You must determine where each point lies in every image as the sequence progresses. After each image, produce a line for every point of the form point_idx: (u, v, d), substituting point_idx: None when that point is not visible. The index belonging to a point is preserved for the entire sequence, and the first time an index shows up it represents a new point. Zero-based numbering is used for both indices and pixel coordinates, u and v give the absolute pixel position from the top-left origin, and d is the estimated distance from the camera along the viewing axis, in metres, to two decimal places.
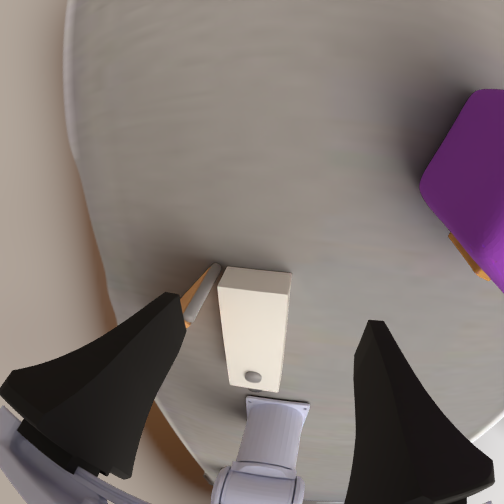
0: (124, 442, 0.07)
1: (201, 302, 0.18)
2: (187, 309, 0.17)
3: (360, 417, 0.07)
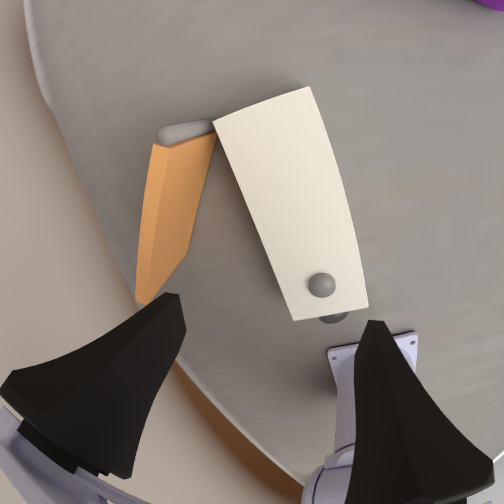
0: (124, 442, 0.07)
1: (186, 126, 0.11)
2: None
3: (360, 417, 0.07)
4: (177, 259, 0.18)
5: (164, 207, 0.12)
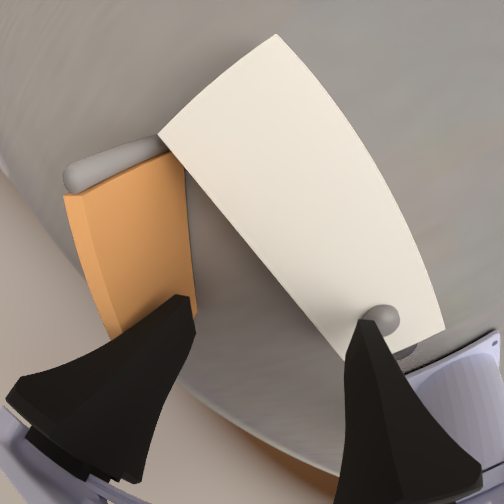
0: (135, 447, 0.06)
1: (110, 152, 0.07)
2: None
3: (349, 417, 0.08)
4: None
5: (118, 279, 0.08)
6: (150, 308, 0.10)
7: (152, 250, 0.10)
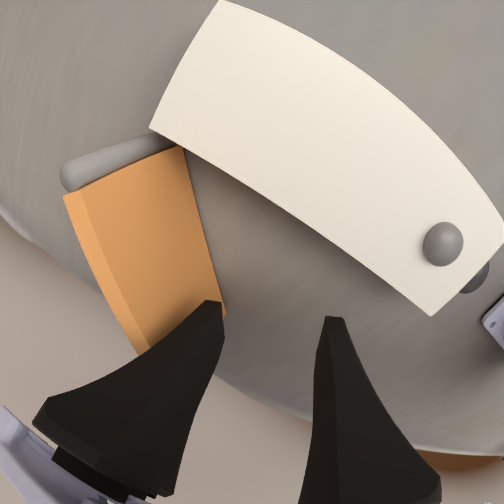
0: (170, 461, 0.06)
1: (105, 149, 0.07)
2: None
3: (315, 415, 0.08)
4: None
5: (131, 277, 0.07)
6: (171, 308, 0.10)
7: (165, 247, 0.09)
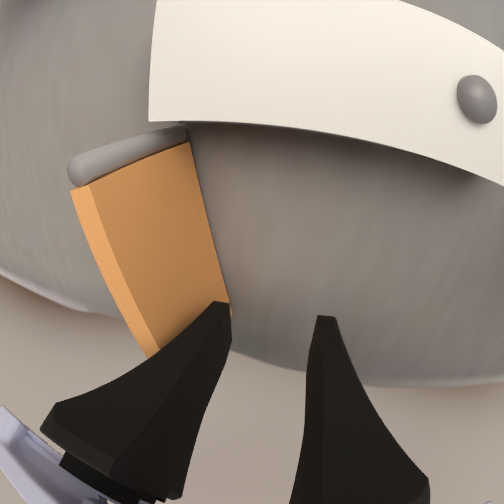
0: (180, 464, 0.06)
1: (114, 143, 0.06)
2: None
3: (307, 414, 0.08)
4: None
5: (140, 275, 0.07)
6: (180, 308, 0.09)
7: (173, 245, 0.09)
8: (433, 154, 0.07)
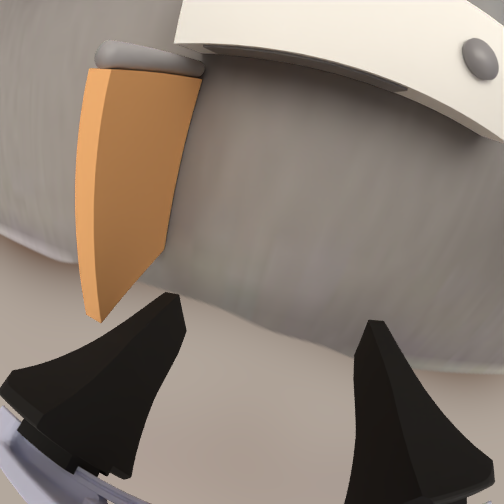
0: (124, 442, 0.07)
1: (146, 47, 0.06)
2: None
3: (360, 417, 0.07)
4: (148, 257, 0.13)
5: (109, 171, 0.07)
6: (125, 220, 0.09)
7: (146, 160, 0.09)
8: (441, 98, 0.06)
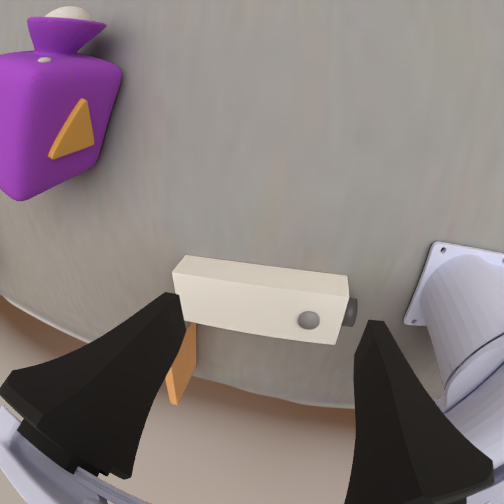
0: (124, 442, 0.07)
1: None
2: None
3: (360, 417, 0.07)
4: (190, 374, 0.28)
5: (175, 372, 0.22)
6: (181, 375, 0.25)
7: (184, 357, 0.24)
8: (288, 338, 0.21)
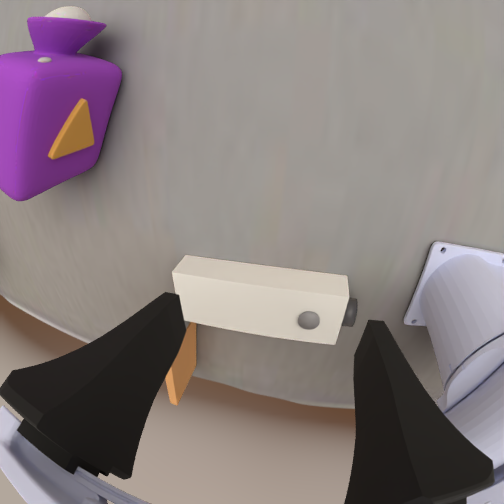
0: (124, 442, 0.07)
1: None
2: None
3: (360, 417, 0.07)
4: (190, 374, 0.28)
5: (175, 372, 0.22)
6: (181, 375, 0.25)
7: (184, 357, 0.24)
8: (288, 338, 0.21)
